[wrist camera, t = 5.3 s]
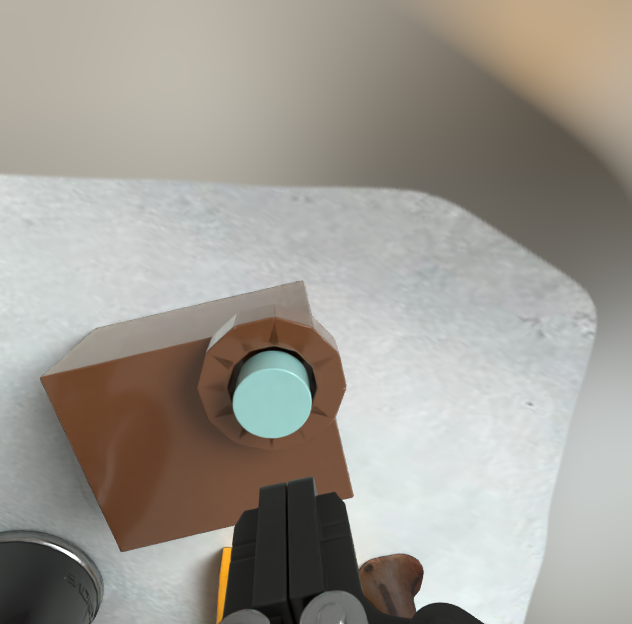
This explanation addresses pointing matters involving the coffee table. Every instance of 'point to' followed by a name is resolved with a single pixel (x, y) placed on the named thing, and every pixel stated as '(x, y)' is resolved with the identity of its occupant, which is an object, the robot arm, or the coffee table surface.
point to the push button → (272, 395)
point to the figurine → (392, 584)
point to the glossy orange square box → (223, 582)
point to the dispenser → (194, 414)
